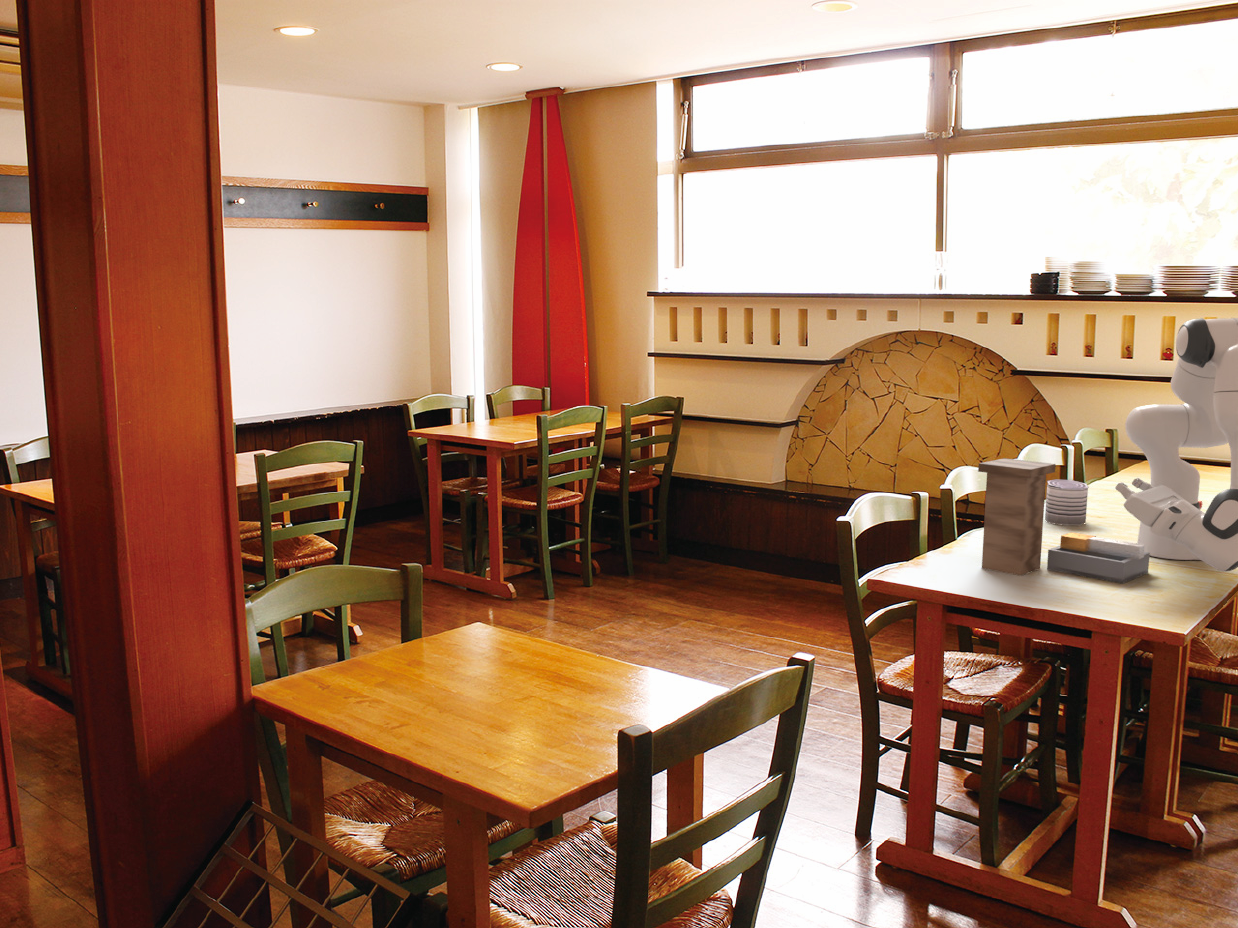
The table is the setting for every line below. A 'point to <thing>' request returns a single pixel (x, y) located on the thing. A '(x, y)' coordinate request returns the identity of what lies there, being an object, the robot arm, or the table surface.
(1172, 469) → the robot arm
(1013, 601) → the table surface
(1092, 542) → the white and tan bar
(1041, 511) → the post
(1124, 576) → the tray
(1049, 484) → the can
